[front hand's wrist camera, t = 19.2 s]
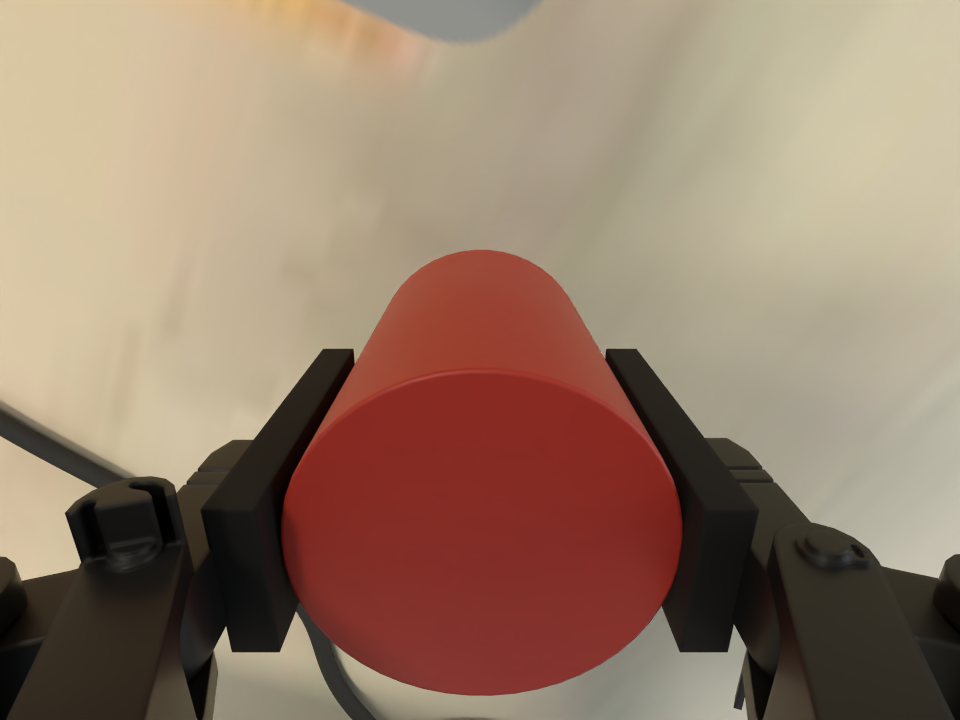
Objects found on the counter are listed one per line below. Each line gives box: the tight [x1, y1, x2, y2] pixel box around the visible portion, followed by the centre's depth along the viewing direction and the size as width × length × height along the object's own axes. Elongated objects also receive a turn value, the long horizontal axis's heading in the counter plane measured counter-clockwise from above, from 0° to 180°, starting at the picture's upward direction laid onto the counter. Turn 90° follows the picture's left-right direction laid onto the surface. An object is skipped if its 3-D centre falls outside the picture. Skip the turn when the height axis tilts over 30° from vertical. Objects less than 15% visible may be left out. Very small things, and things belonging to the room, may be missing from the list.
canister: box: [281, 250, 683, 696], centre depth 13 cm, size 6×6×9 cm
